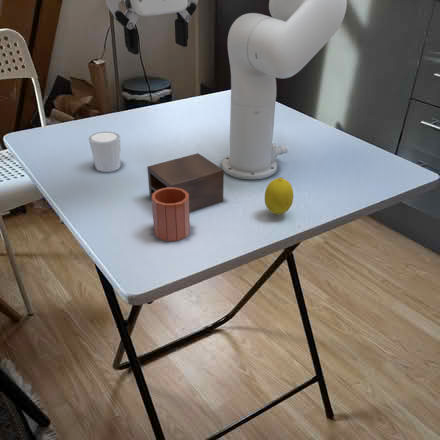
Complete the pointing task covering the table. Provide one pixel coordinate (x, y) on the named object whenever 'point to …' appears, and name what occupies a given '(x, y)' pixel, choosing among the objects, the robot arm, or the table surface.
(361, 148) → the table surface
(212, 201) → the shelf
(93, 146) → the white short cylinder
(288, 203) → the lemon
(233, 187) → the table surface
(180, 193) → the cup
